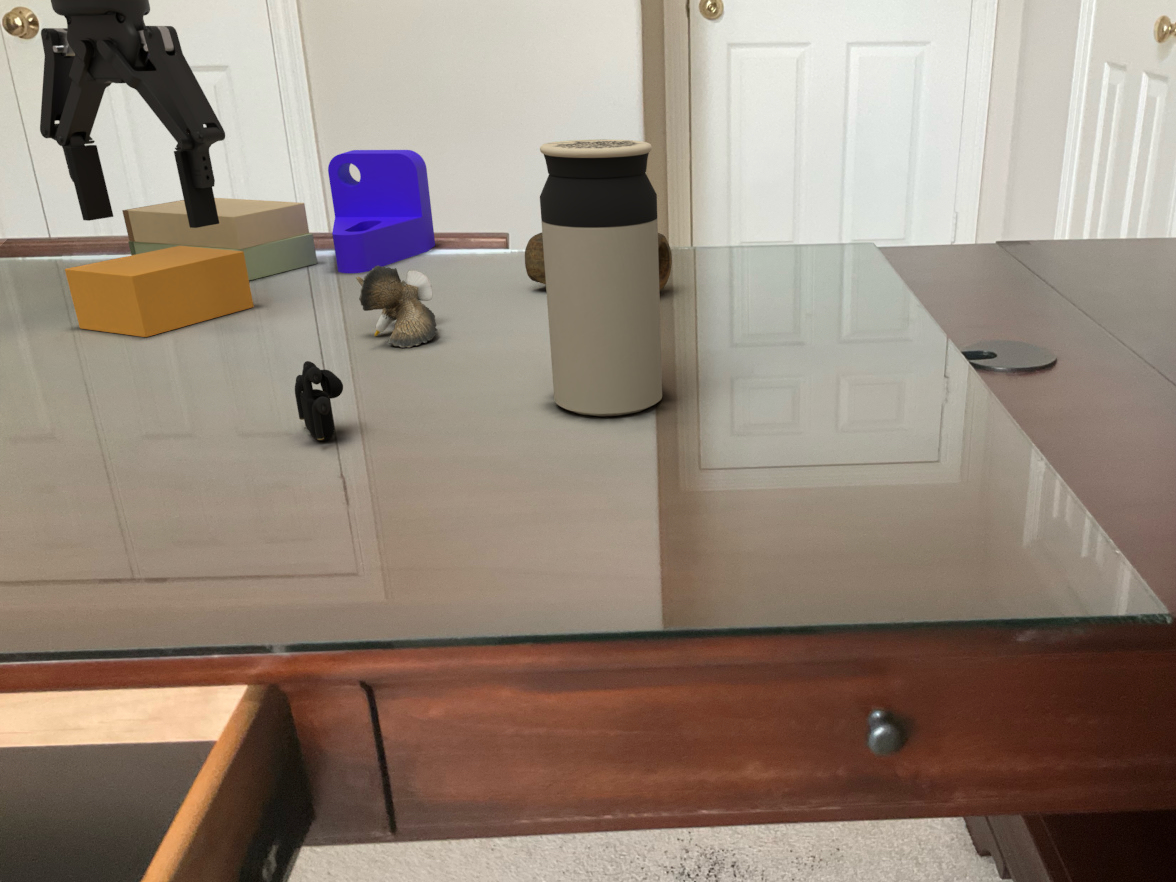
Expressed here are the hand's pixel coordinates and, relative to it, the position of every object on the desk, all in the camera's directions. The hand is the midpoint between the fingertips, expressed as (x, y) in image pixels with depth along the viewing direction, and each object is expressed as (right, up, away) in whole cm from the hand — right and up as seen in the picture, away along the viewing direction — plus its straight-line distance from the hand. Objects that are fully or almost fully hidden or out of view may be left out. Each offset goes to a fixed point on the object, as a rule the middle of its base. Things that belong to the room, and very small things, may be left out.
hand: (150, 222), depth 101 cm
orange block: (0, -8, +4) cm, 9 cm away
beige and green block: (-5, +2, +26) cm, 27 cm away
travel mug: (+45, -20, -20) cm, 53 cm away
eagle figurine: (+24, -11, -2) cm, 27 cm away
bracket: (+11, +5, +32) cm, 34 cm away
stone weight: (+40, -3, +14) cm, 43 cm away
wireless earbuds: (+26, -23, -27) cm, 44 cm away
